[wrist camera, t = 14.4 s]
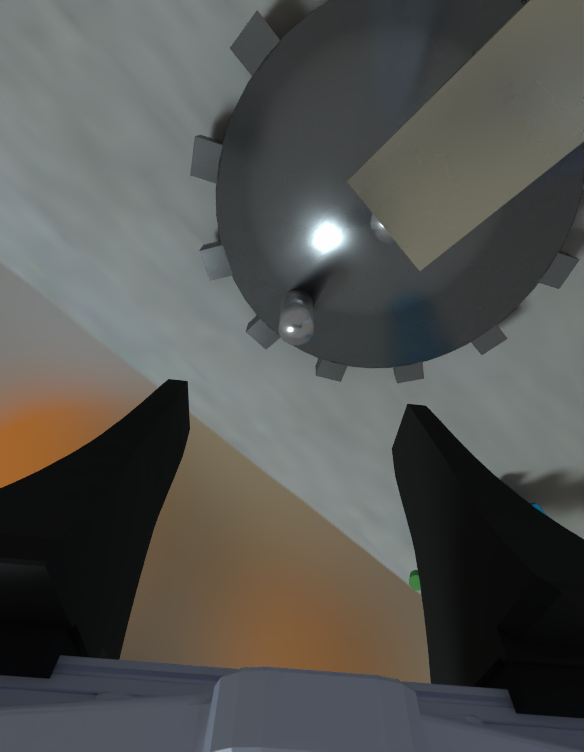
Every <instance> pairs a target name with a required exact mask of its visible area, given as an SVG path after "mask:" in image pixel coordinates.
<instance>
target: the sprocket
mask: <svg viewBox="0 0 584 752" xmlns="http://www.w3.org/2000/svg"><path fill="white" fill-rule="evenodd" d="M230 49H231V50H232V52H233V53H234V54H235V55H236V57H237V58H238V59H239V60H240V61H241V63H242V64H243V65H244V66H245V68H246V69H247V70H248V71H249V72H250V74H251V75H252V78H251V79H250V81H249V82H248V84H247V86H246V88H245V90H244V92H243V94H242V96H241V97H240V99H239V101H238V103H237V105H236V107H235V109H234V112H233V115H232V118H231V120H230V123H229V126H228V129H227V132H226V134H225V137H224V142H221V141H218V140H215V139H212V138H209V137H206V136H202V135H198V136H195V141H194V149H193V157H192V165H191V173H190V175H191V176H194V177H197V178H201V179H204V180H207V181H210V182H214V183H217V184H216V216H217V222H218V229H219V236H220V241H218V242H214V243H210V244H206V245H203V246H202V248H201V249H200V251H199V252H200V255H201V258H202V260H203V263H204V265H205V268H206V271H207V273H208V276H209V279H210V281H211V280H215V279H219V278H223V277H227V276H231V275H232V276H233V279H234V281H235V283H236V284H237V286H238V288H239V290H240V291H241V293H242V295H243V297H244V298H245V300H246V301H247V302H248V304H249V305H250V306H251V308H252V309H253V310H254V312H255V313H256V314H257V316H256V317H255V318H253V319H252V320H251V321H250V322H249V323H248V326H247V329H246V333H248V334H249V335H250V336H251V337H252V338H253V339H255V340H256V341H257V342H258V343H259V344H260V345H261V346H263V347H264V348H265V349H267V348H268V347H270V346H271V345H272V344H273V343H274V342H275V341H277V340H278V339H279V338H280V337H281V338H282V339H283V340H284V341H285V342H287V343H288V344H291V345H293V346H295V347H297V348H298V349H300V350H302V351H304V352H306V353H308V354H311V355H313V356H315V357H317V358H318V361H317V363H316V376H320V377H324V378H328V379H332V380H336V381H340V382H341V380H342V377H343V375H344V373H345V370H346V368H347V366H352V367H363V368H391V367H393V369H394V375H395V378H396V381H397V383H401V382H407V381H412V380H418V379H423V378H424V374H423V362H424V361H428V360H431V359H433V358H436V357H439V356H442V355H445V354H447V353H449V352H452V351H454V350H456V349H458V348H460V347H462V346H464V345H466V344H468V343H470V342H471V343H472V344H473V345H474V346H475V348H476V349H477V350H478V351H479V353H480V354H481V355H483V354H484V353H486V352H487V351H489V350H491V349H492V348H494V347H495V346H497V345H498V344H500V343H501V342H503V341H505V340H506V339H507V337H506V336H505V335H504V333H503V332H502V331H501V330H500V328H499V327H498V326H497V324H498V323H499V322H501V321H502V320H503V319H504V318H505V317H506V316H508V315H509V314H510V313H511V312H512V311H513V310H514V309H515V308H516V307H517V306H519V305H520V303H521V302H522V301H523V300H524V299H525V298H526V297H527V296H528V295H529V294H530V292H531V291H532V290H533V289H534V288H535V287H536V285H537V284H538V283H542V284H545V285H548V286H551V287H555V288H558V289H559V288H560V287H561V286H562V284H563V283H564V281H565V280H566V278H567V277H568V276H569V274H570V273H571V271H572V270H573V268H574V267H575V266H576V264H577V263H578V261H579V259H577V258H575V257H574V256H572V255H570V254H568V253H565V252H562V251H560V249H561V247H562V245H563V243H564V241H565V239H566V237H567V234H568V232H569V230H570V228H571V226H572V223H573V220H574V217H575V214H576V211H577V208H578V205H579V202H580V199H581V195H582V191H584V0H528V1H527V2H526V3H525V4H523V3H522V2H521V1H520V0H330V1H328V2H327V3H325V4H323V5H322V6H320V7H319V8H317V9H316V10H314V11H312V12H311V13H310V14H308V15H307V16H306V17H305V18H304V19H303V20H301V21H300V22H299V23H298V24H297V25H296V26H294V27H293V28H292V29H291V30H290V31H289V32H287V33H286V34H285V36H284V37H283V38H282V39H281V40H280V39H279V38H278V37H277V35H276V34H275V33H274V32H273V30H272V29H271V28H270V26H269V25H268V24H267V22H266V21H265V20H264V18H263V17H262V16H261V14H260V13H259V12H258V11H256V13H255V14H254V16H253V17H252V18H251V20H250V21H249V22H248V24H247V25H246V27H245V28H244V29H243V31H242V32H241V33H240V35H239V36H238V38H237V39H236V40H235V42H234V43H233V44H232V46H231V47H230Z"/></svg>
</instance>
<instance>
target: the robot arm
mask: <svg viewBox="0 0 584 752" xmlns="http://www.w3.org/2000/svg"><path fill="white" fill-rule="evenodd" d="M189 430H190V422H189V400H188V381H181V380H171V379H168V380H167V381H166V382H165V383H163V384H162V385H161V386H160V387H159V388H158V389H157V390H155V391H154V392H153V393H152V394H151V395H150V396H149V397H148V398H146V399H145V400H144V401H143V402H142V403H141V404H139V405H138V406H137V407H136V408H135V409H133V410H132V411H131V412H130V413H129V414H127V415H126V416H125V417H124V418H123V419H121V420H120V421H119V422H117V423H116V424H115V425H113V426H112V427H111V428H109V429H108V430H107V431H105V432H104V433H103V434H101V435H100V436H98V437H97V438H95V439H94V440H92V441H91V442H89V443H88V444H86V445H84V446H83V447H81V448H80V449H78V450H76V451H75V452H73V453H71V454H70V455H68V456H66V457H64V458H62V459H60V460H58V461H56V462H55V463H53V464H51V465H49V466H47V467H45V468H43V469H42V470H40V471H38V472H36V473H33V474H31V475H29V476H27V477H25V478H23V479H21V480H18V481H16V482H14V483H12V484H9V485H7V486H5V487H3V488H0V752H584V539H582V538H581V537H579V536H577V535H576V534H574V533H572V532H571V531H569V530H568V529H566V528H565V527H563V526H561V525H560V524H558V523H557V522H555V521H554V520H552V519H551V518H549V517H548V516H547V515H545V514H544V513H542V512H541V511H539V510H538V509H537V508H535V507H534V506H532V505H531V504H530V503H528V502H527V501H526V500H524V499H523V498H522V497H520V496H519V495H518V494H517V493H515V492H514V491H513V490H512V489H510V488H509V487H508V486H507V485H505V484H504V483H503V482H502V481H501V480H499V479H498V478H497V477H496V476H495V475H494V474H493V473H491V472H490V471H489V470H488V469H487V468H486V467H485V466H484V465H483V464H482V463H481V462H480V461H479V460H477V459H476V458H475V457H474V456H473V455H472V454H471V453H470V452H469V451H468V450H467V449H466V448H465V447H464V446H463V445H462V444H461V442H460V441H459V440H458V439H457V438H456V437H455V436H454V435H453V434H452V433H451V432H450V431H449V430H448V429H447V428H446V427H445V425H444V424H443V423H442V422H441V421H440V420H439V419H438V418H437V417H436V416H435V415H434V414H433V413H432V412H431V410H430V409H429V408H428V407H427V406H423V405H414V404H407V407H406V410H405V413H404V415H403V418H402V421H401V424H400V427H399V430H398V433H397V436H396V439H395V442H394V444H393V447H392V454H393V462H394V470H395V477H396V481H397V485H398V488H399V492H400V496H401V500H402V503H403V507H404V511H405V515H406V518H407V522H408V526H409V529H410V533H411V537H412V541H413V545H414V550H415V555H416V561H417V568H418V574H419V580H420V587H421V595H422V602H423V609H424V617H425V626H426V635H427V643H428V654H429V666H430V677H431V684H428V683H415V682H402V681H400V680H398V679H393V678H388V677H383V676H378V675H366V674H354V673H340V672H328V671H315V670H301V669H288V668H275V667H244V668H240V669H232V668H219V667H206V666H193V665H179V664H167V663H153V662H141V661H128V660H119V658H120V654H121V650H122V646H123V641H124V637H125V633H126V629H127V625H128V621H129V617H130V613H131V609H132V606H133V602H134V598H135V594H136V589H137V586H138V583H139V579H140V575H141V572H142V568H143V565H144V561H145V557H146V554H147V551H148V547H149V544H150V540H151V537H152V533H153V530H154V527H155V524H156V521H157V518H158V516H159V513H160V511H161V508H162V506H163V503H164V501H165V498H166V496H167V494H168V491H169V489H170V486H171V484H172V482H173V479H174V477H175V474H176V472H177V469H178V467H179V464H180V461H181V459H182V457H183V453H184V450H185V446H186V442H187V438H188V434H189Z"/></svg>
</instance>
